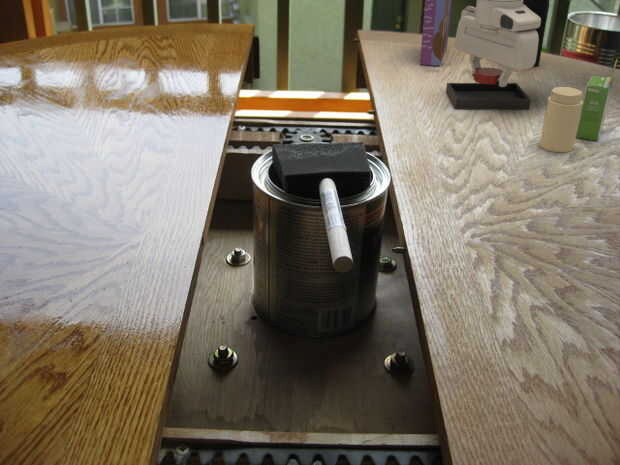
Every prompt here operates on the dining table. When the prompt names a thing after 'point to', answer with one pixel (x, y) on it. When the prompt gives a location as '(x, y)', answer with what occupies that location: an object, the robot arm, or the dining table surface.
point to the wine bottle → (540, 5)
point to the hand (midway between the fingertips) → (488, 81)
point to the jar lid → (487, 75)
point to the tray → (487, 96)
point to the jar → (561, 119)
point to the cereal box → (435, 31)
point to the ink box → (594, 107)
